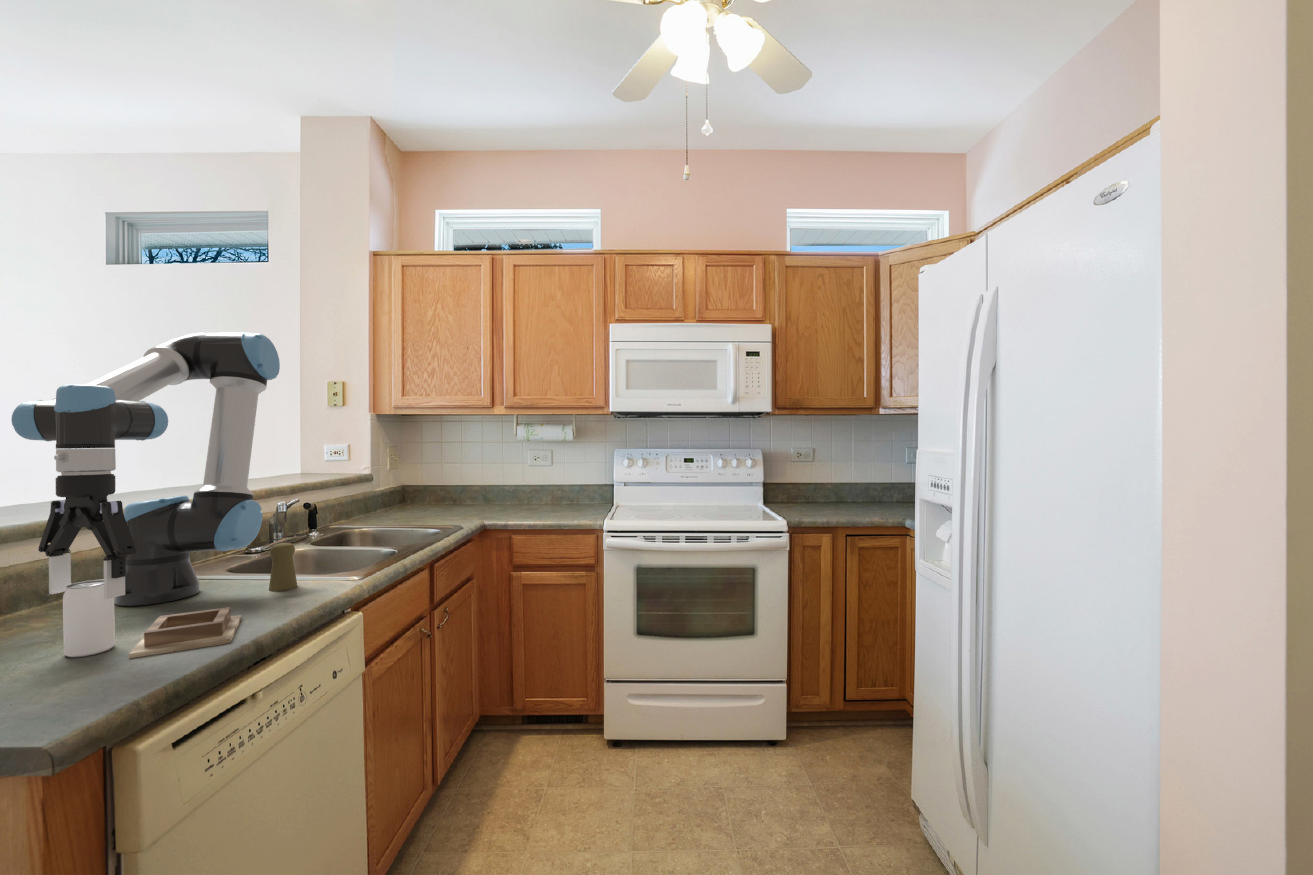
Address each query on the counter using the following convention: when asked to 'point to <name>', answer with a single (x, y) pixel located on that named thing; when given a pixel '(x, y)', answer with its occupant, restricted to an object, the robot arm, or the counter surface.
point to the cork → (282, 567)
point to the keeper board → (187, 632)
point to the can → (87, 619)
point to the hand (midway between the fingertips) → (86, 594)
